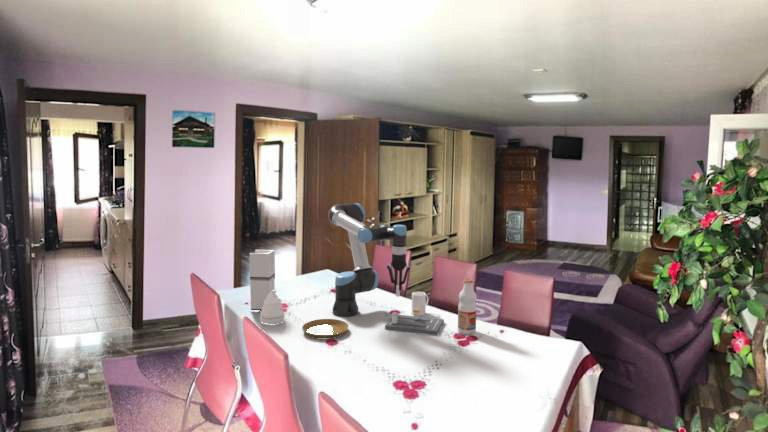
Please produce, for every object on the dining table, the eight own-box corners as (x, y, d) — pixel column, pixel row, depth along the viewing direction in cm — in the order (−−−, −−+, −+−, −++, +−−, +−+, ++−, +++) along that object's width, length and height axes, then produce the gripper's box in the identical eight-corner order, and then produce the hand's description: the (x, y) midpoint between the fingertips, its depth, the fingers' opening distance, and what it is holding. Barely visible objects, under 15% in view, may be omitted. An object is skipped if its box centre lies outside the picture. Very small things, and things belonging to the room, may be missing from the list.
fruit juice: (459, 327, 283) (460, 277, 279) (476, 329, 280) (478, 278, 276) (456, 333, 274) (457, 281, 270) (474, 335, 271) (476, 282, 268)
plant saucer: (330, 344, 259) (330, 338, 258) (292, 335, 271) (292, 328, 271) (357, 330, 279) (357, 324, 279) (321, 321, 292) (321, 316, 291)
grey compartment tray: (384, 329, 280) (384, 325, 279) (394, 317, 299) (395, 314, 298) (436, 335, 272) (436, 331, 271) (443, 322, 291) (443, 319, 290)
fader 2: (413, 319, 288) (413, 310, 288) (414, 317, 292) (414, 308, 291) (418, 319, 288) (418, 310, 287) (419, 317, 291) (419, 308, 290)
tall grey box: (275, 307, 316) (274, 250, 311) (270, 312, 305) (268, 253, 301) (257, 306, 317) (255, 249, 312) (251, 312, 306) (249, 253, 302)
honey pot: (289, 321, 291) (288, 289, 289) (269, 326, 282) (268, 294, 280) (275, 315, 300) (274, 285, 298) (256, 321, 291) (255, 289, 288)
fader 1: (391, 323, 282) (391, 314, 281) (393, 321, 285) (393, 312, 284) (396, 323, 281) (396, 314, 280) (398, 321, 284) (398, 312, 283)
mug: (424, 309, 314) (424, 289, 313) (433, 313, 307) (433, 293, 306) (408, 312, 308) (408, 292, 306) (416, 316, 301) (417, 296, 299)
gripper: (385, 254, 281) (384, 296, 285) (409, 256, 278) (408, 298, 282) (388, 251, 288) (387, 292, 292) (412, 252, 285) (410, 294, 289)
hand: (397, 295), depth 287 cm, fingers closed
